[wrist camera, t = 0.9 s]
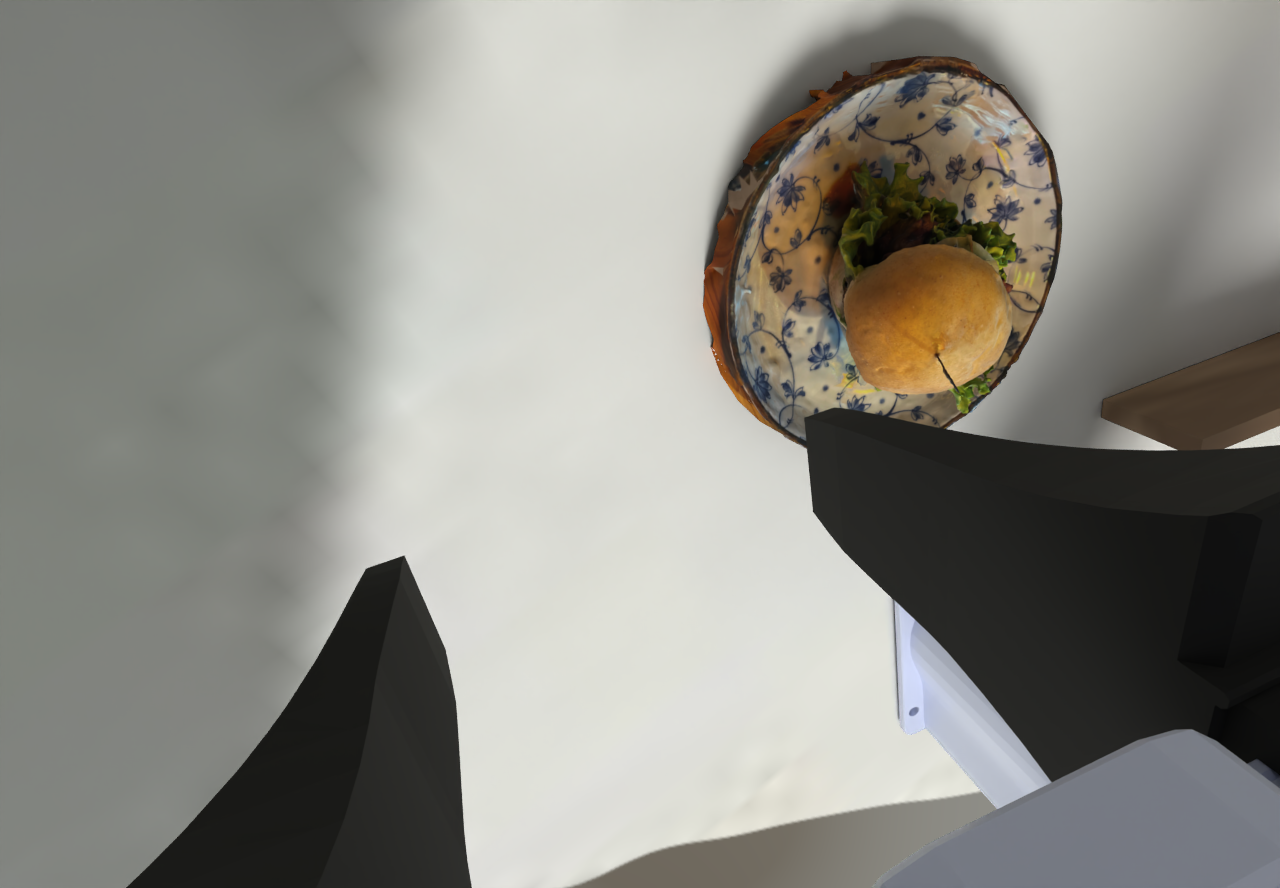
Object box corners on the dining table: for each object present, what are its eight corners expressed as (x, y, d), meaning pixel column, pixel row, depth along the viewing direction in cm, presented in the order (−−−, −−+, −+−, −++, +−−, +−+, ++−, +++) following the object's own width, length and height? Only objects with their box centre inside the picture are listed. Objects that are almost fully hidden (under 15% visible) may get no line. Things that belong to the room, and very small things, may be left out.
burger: (997, 402, 27) (1189, 493, 21) (710, 475, 24) (828, 607, 18) (1047, 41, 22) (1326, 12, 15) (685, 81, 19) (842, 66, 13)
